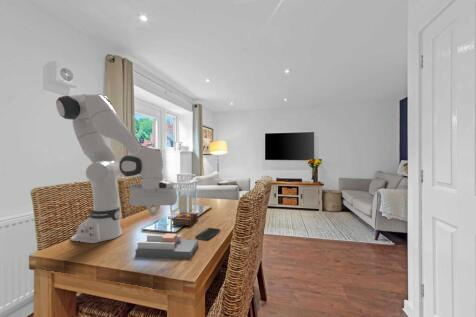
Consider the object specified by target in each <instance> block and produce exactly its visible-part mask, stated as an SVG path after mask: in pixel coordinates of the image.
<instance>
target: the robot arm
mask: <svg viewBox="0 0 476 317" xmlns="http://www.w3.org/2000/svg"><path fill="white" fill-rule="evenodd" d="M55 101H56V102H55V103H56V104H55V105H56V106H55V107H56V111H57V112H58V114H59V115H60V116H61V117H62V118H63V119H65V120H72V128H73V131H74V133H75V136H76V138H77V142H78V143H79V145H80V147H81V150H82V152H83V154H84V155H85V156H86V157H87V158H88V159H89V160H90V162H91V164H90V165H88V166H87V168H86V171H85V175H86V176H85V177H86V178H87V179H88V180H89V183H90V186H91V191H92V197H93V198H92V199H93V200H92V201H93V203H92V204H93V207H92V210H90V211H88V212H87V213H88V215H89V218H87V219H86V220H84V221H83V222H82V223H80V224H79V225H78V227H77V229H76V233H75V234H74V235H72V237H70V241H72V242H73V241H74V242H79V241H80V242H81V243H88V244H96V243H99V242H103V241H104V242H105V241H110V240H113V239H116V238H119V237H121V236H122V234H123V230H122V227H121V223H120V215H121V214H120V213H121V212H120V211H121V210H120V206H119V205H120V204H119V202H120V200H119V199H120V198H119V196H120V195H119V194H120V193H119V191H118V189H117V184H116V180H117V179H119V178H120V176H121V175H123V176H125V177H130V178H131V177H141V183H138V184H137V183H133V184H132V185H131V186H130V187H129V200H128V202H129V205H130V206H137V207H138V206H146V209H147V211H148V212H149V213H148V214H149V215H148V216H154V217H155V216H158V212H159V209H160V208H161V206H174V205H176V203H177V202H178V198H177V191H176V189H175V187H174V186H175V182H174V181H171V180H168V179H166V178H164V174H163V168H164V162H163V153H162V151H161V149H159V148H158V147H153V146H143V145H142V144H141V142H140V141H139V140H138V138H136V136H135V135H134V133H132V131H131V130H130V129H129V128H128V127H127V126H126V125H125V123H124V122H123V121H122V119H121V118H120V116H119V114H118V113H117V112H116V110H115V109H114V107H113V106H112V103H111V100H110V99H109V98H108V96H106V95H103V94H98V93H97V94H93V93H92V94H90V93H88V94H87V93H83V94H73V95H63V96H60V97H58V98H57V100H55ZM106 138H109V139H111V140H114V141H116V142H118V143H120V144H122V145H123V146H124V147H125V148H126V150H127V151H128V152H129V154H128V155H125V156H123V157H122V158H121V159H120V160H119V161H118V159H117V157H116V155H115V154H114V152H113V151H112V149H111V148H110V146H109V144H108V141H107V139H106ZM153 206H154V208H155V209H154V210H153V208H152V207H153ZM80 242H79V243H80Z"/></svg>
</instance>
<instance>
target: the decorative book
mask: <svg viewBox="0 0 476 317" xmlns="http://www.w3.org/2000/svg"><path fill="white" fill-rule="evenodd" d="M198 214H199V212H187V211H185V212H184V211H183V212H182V211H181V212H180V213H179V214H177V215H175V216H174V217H172V218H171V220H172V224H171V226H172V225H184V226H183V227H190V226H192V225H194V223H196V222H197V221H198V218H199V217H198Z"/></svg>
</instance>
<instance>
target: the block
mask: <svg viewBox="0 0 476 317" xmlns="http://www.w3.org/2000/svg"><path fill="white" fill-rule="evenodd" d="M163 235H164V236H163V237H162V242H175V245H176V243H177V235H178V233H169V232H168V233H166V232H165V234H163Z"/></svg>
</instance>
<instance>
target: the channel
mask: <svg viewBox="0 0 476 317" xmlns="http://www.w3.org/2000/svg"><path fill="white" fill-rule="evenodd" d="M164 235H165V234H147V235H146V241H141V240H139V241H137V243H136V244H137V248H136V249H135V257H149V258H150V257H152V258H156V257H158V258H178V259H179V258H181V259H182V258H183V259H186V258H187V259H190V258H192V256H193V254H194V253H195V251H196V249H197V248H198V246H199V239H182V235H180V234H179V235H178V234H177V243H176V245H175V242H162V237H163V236H164Z"/></svg>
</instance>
